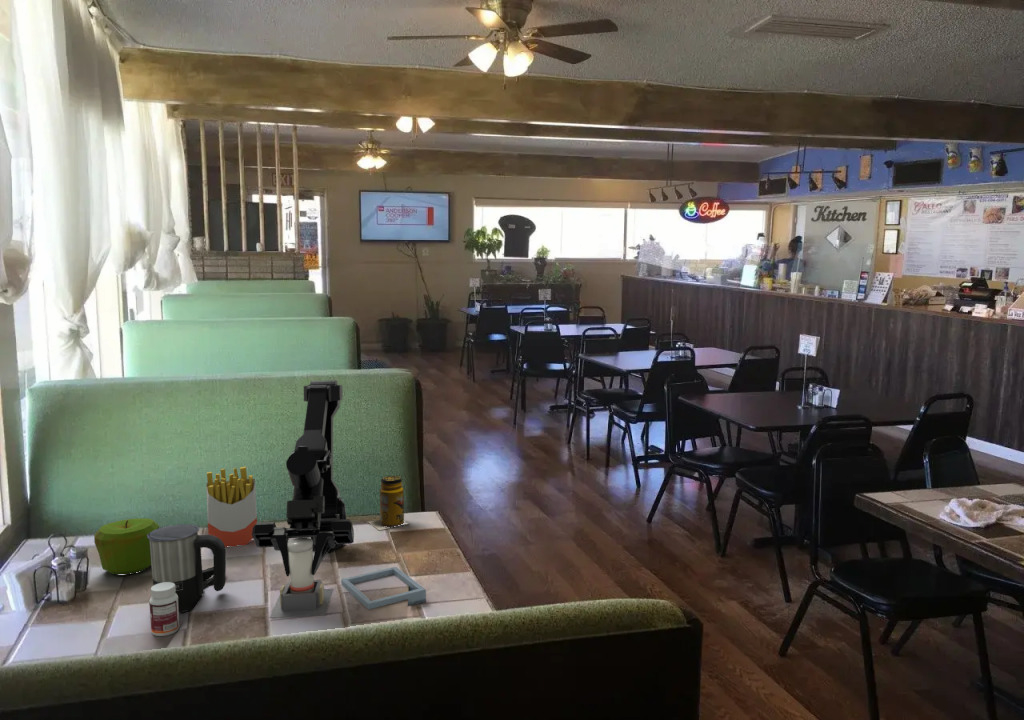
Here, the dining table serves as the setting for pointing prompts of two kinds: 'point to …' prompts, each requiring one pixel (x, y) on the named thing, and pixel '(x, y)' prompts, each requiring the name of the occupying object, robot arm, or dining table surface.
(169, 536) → the milk frother
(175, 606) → the pill bottle
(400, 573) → the tray
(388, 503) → the condiment
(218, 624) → the dining table surface
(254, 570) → the dining table surface
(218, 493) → the french fries container
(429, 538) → the dining table surface
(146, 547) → the apple
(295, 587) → the cylinder
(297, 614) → the fuse holder
